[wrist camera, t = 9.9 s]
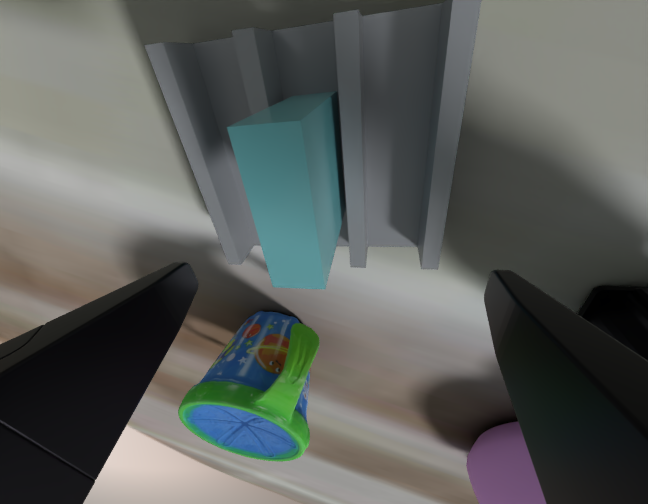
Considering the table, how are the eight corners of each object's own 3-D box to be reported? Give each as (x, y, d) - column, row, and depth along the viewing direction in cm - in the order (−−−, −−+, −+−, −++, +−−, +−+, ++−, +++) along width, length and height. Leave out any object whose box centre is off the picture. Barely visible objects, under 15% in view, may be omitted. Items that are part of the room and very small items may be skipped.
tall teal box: (345, 208, 19) (325, 289, 12) (310, 209, 19) (273, 287, 13) (336, 90, 15) (300, 120, 8) (292, 95, 15) (226, 127, 9)
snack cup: (277, 376, 36) (246, 472, 27) (207, 333, 33) (148, 427, 25) (365, 329, 27) (357, 447, 19) (281, 265, 24) (230, 373, 16)
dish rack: (431, 239, 20) (438, 269, 17) (247, 238, 23) (228, 264, 20) (462, 2, 13) (484, -13, 10) (186, 46, 16) (143, 45, 13)
